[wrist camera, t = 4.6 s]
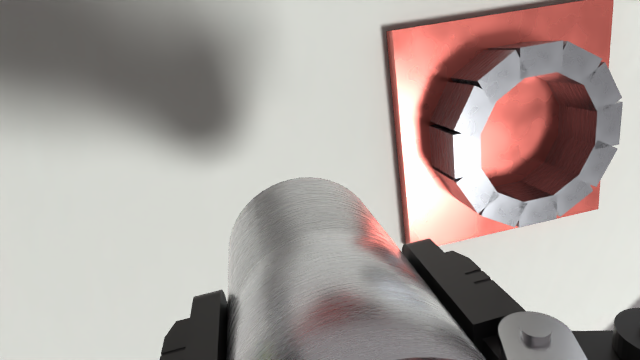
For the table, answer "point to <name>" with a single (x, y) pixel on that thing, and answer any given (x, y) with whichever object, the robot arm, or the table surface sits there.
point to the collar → (503, 118)
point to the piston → (329, 284)
